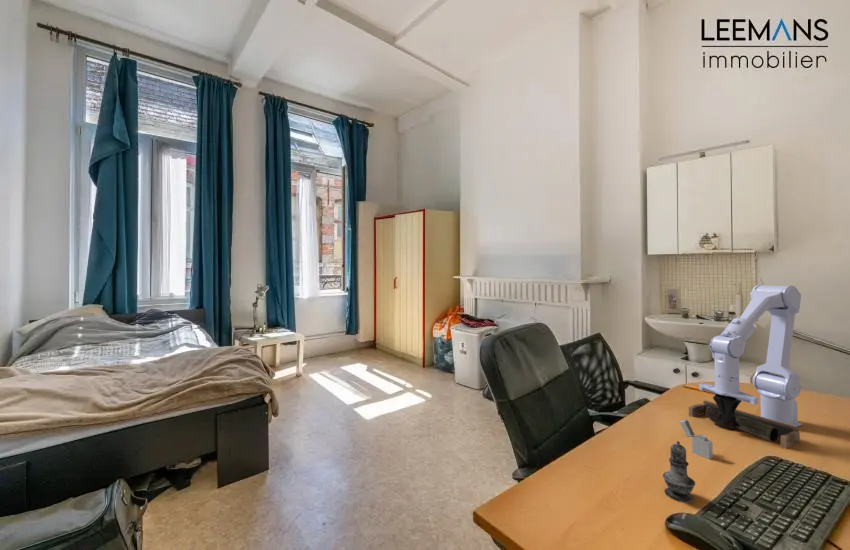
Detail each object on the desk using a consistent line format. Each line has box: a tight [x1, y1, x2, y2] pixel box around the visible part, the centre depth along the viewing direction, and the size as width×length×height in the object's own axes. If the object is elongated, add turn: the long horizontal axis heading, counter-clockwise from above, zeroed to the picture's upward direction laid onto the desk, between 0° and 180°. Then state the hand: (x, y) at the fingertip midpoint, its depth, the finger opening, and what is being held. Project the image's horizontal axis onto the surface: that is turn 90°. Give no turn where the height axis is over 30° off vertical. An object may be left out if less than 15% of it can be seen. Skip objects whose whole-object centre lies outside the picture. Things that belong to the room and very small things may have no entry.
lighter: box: [679, 419, 714, 460], centre depth 97 cm, size 7×2×8 cm, turn 27°
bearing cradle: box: [688, 400, 801, 449], centre depth 111 cm, size 8×25×4 cm, turn 22°
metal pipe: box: [704, 406, 780, 443], centre depth 110 cm, size 18×7×6 cm, turn 21°
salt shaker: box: [662, 440, 696, 504], centre depth 79 cm, size 6×6×12 cm
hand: (727, 420), depth 109 cm, fingers closed
